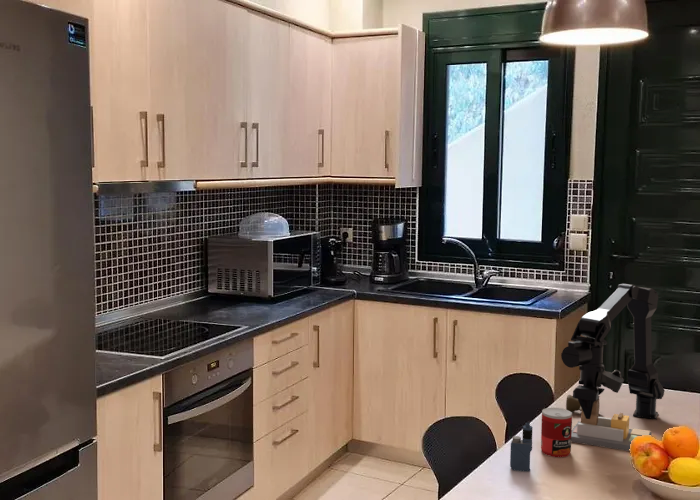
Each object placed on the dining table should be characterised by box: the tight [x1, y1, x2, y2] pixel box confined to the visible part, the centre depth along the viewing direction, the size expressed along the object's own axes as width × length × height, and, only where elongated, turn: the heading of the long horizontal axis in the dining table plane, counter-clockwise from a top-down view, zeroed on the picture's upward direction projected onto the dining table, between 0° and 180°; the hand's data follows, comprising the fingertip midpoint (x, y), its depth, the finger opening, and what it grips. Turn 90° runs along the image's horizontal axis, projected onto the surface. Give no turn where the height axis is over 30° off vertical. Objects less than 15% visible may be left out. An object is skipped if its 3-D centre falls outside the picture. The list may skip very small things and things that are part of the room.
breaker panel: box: [571, 416, 652, 452], centre depth 222 cm, size 14×20×4 cm
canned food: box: [540, 407, 573, 458], centre depth 211 cm, size 8×8×11 cm
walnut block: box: [580, 398, 600, 425], centre depth 223 cm, size 4×4×7 cm
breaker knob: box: [611, 412, 630, 439], centre depth 220 cm, size 5×4×6 cm
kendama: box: [565, 394, 600, 415], centre depth 248 cm, size 6×10×20 cm
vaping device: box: [509, 422, 533, 472], centre depth 199 cm, size 3×5×12 cm, turn 78°
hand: (589, 416), depth 224 cm, fingers closed on walnut block, 4 cm apart
